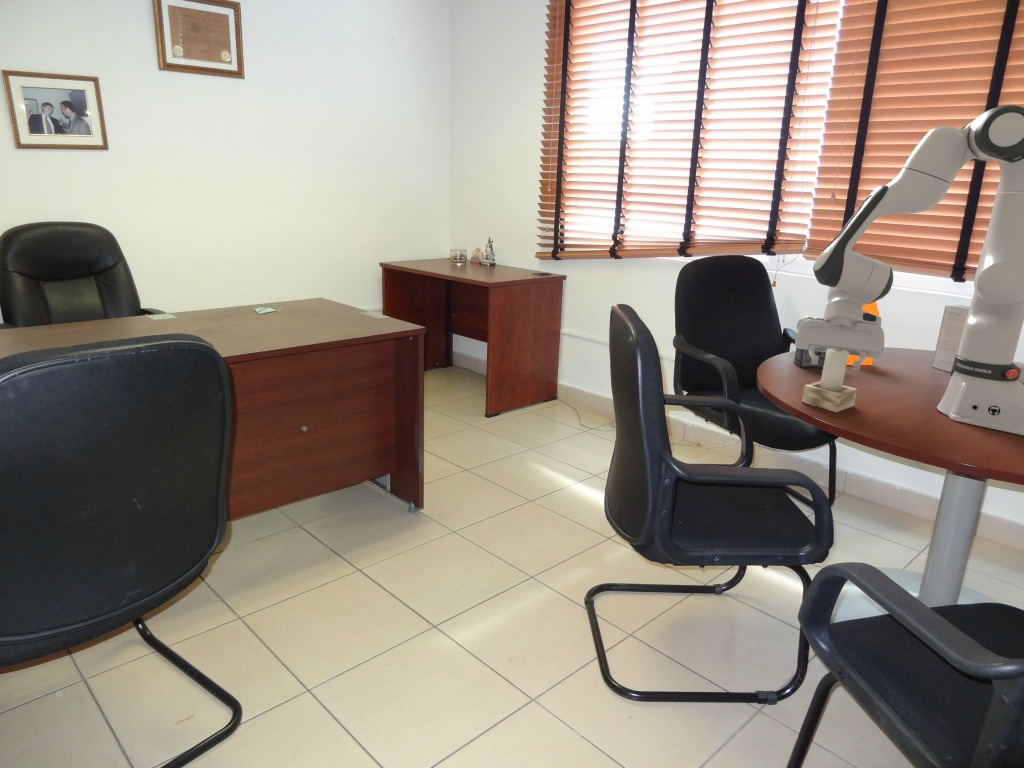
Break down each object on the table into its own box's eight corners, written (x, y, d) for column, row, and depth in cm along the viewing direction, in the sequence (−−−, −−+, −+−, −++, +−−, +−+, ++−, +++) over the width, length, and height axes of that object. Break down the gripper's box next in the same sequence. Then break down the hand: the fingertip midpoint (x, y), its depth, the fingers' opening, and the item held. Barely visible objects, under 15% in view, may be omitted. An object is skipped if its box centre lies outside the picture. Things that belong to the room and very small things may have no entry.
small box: (827, 364, 206) (833, 332, 203) (835, 370, 200) (841, 336, 197) (792, 362, 207) (798, 330, 204) (799, 368, 201) (805, 334, 198)
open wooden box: (853, 406, 166) (857, 389, 165) (836, 412, 161) (839, 394, 159) (819, 396, 173) (822, 380, 172) (801, 402, 168) (804, 385, 166)
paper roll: (843, 397, 166) (853, 349, 162) (833, 400, 163) (843, 352, 159) (824, 392, 170) (833, 345, 166) (814, 395, 167) (823, 347, 163)
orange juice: (831, 359, 213) (842, 298, 207) (855, 359, 215) (867, 298, 209) (846, 365, 206) (859, 302, 200) (872, 365, 207) (885, 302, 201)
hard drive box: (996, 379, 197) (1013, 313, 191) (979, 380, 194) (996, 314, 189) (946, 365, 211) (961, 304, 205) (930, 367, 208) (944, 304, 202)
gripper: (799, 309, 171) (791, 353, 166) (888, 318, 163) (882, 365, 157) (797, 323, 176) (789, 366, 171) (884, 332, 168) (878, 378, 162)
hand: (834, 365), depth 164 cm, fingers open, 8 cm apart
